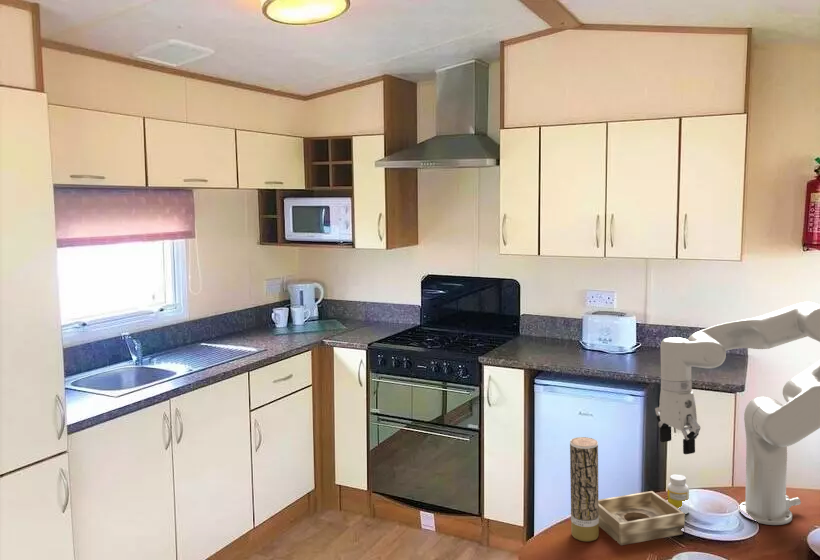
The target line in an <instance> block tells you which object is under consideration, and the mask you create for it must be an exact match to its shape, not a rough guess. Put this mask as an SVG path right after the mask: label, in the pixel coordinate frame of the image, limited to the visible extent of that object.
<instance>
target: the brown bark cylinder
mask: <svg viewBox="0 0 820 560" xmlns="http://www.w3.org/2000/svg"><path fill="white" fill-rule="evenodd" d="M569 449H570V450H569V455H570V456H569V460H570V461H569V463H570V465H569V467H570V521H571V522H570V523H571V525H570V528H571V529H570V530H571V531H570V532H571V535H572V537H573V539H576V540H577V541H580V542H586V543H587V542H593V541H596V540H597V539H598V537H599V535H600V534H599V533H600V531H599V530H600V527H599V502H598V500H599V441H598V440H596V438H592V437H589V436H587V437H586V436H585V437H584V436H579V437H574V438H571V439H569Z"/></svg>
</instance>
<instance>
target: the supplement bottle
mask: <svg viewBox="0 0 820 560" xmlns="http://www.w3.org/2000/svg"><path fill="white" fill-rule="evenodd" d="M669 481H670V482H669V483H668V484H667V502H669V503H670V504H672V505H673V506H675V507H676V508H679V507H681V506H682V501H685V500H688V499H689V500H690V489H689V485H688V484H687V477H686V476H685V475H683V474H675V473H673V474H671V475H670V476H669Z"/></svg>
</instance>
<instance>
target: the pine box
mask: <svg viewBox="0 0 820 560" xmlns="http://www.w3.org/2000/svg"><path fill="white" fill-rule="evenodd" d="M598 502H599V528H600V529H602V530H603V531H604V532H605V533H606V535H609V536H610V537H611V538H612V539H613V540H614V541H615V542H616V541H617V542H616V543H617V544H619V546H625V545H631V544H636V543H641V542H646V541H652V540H658V539H664V538H670V537H674V536H680V535H684V534H683V532H682V531H681V529H682V528H684V529H685V519H686V518H685V516H686V515H685V513H683V512H682V511H681V510H679V509H678V508H676V507H675V506H673V505H672V504H670V503H669V502H668V500H666V499H664V498H663V497H661V496H660V495H659V494H657V493H655V491H653V490H650V491H643V492H638V493H632V494H626V495H625V494H624V495H620V496H613V497H606V498H599V499H598Z"/></svg>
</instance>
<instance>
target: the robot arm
mask: <svg viewBox="0 0 820 560" xmlns="http://www.w3.org/2000/svg"><path fill="white" fill-rule="evenodd" d="M807 337H808V338H810V339H812V340H815V341H817V342H819V343H820V303H819V302H818V303H817V302H813V301H804V302H803V301H802V302H799V303H796V304H792V305H790V306H789V305H788V306H786V307H783V308H781V309H778V310H774V311H771V312H768V313H765V314H763V315H759V316H755V317H751V318H745V319H740V320H736V321H735V320H734V321H730V322H724V323H721V324H717V325H716V324H715V325H713V326H710V327H708V328H704V329H701V330H699V331H696V332H694V333H692V334H691V335H689V336H688V338H683V337H666V338H663V339H662V341H661V342H660V394H659V406H656V407H655V408H654V410H655V415H656V419H657V421H658V427H659V442H661V443H664V442H665V443H666V442H670V441H672V428H674V429H676V430H679V431H681V433H682V435H683V437H684V438H683V439H682V453H683V454H684V455H690V454H691V455H692V454H694V453H696V439H697V437H698V436H699V433H700V430H701V425H700V424H699V423H698V421H697V420H698V419H697V418H698V417H697V406H696V400H695V395H694V392H693V391H692V386H693V385H692V367H695V368H703V369H715V368H718V367H720V366H721V365H723V363H724V362H725V360H726V358H727V353H726V352H727V351H730V350H736V349H752V350H769V349H773V348H776V347H778V346H782V345H785V344H787V343H790V342H791V343H792V342H794V341H797V340H800V339H804V338H807ZM782 396H783V399H784V400H785V402H786V403H784V404H782V403H781V402H780V401H778V400H776V399H774V398H772V397H769V396H758V397H755V398H752V400H749V402H748V403H747V405H746V407H745V410H744V412H743V413H744V414H743V415H744V417H743V421H744V430H745V440H746V441H745V445H746V446H745V447H746V448H745V449H746V450H745V492H744V493H745V501H742V502H741V503H740V504H739V506H740V509H741V510H743V511H745V512H746V513H748V515H750V516H751V517H752V518H753V519H754V520H756V521H757V522H758V524H763V525H769V526H782V525H786V524H787V525H788V524H789V523H791V521H792V520H793V513H792V511H791V510H790V508H792V506H800V505H801V503H802V502H801V498H800V497H798V496H797V497H791V498H790V497H789V496H788V494H787V473H788V472H787V469H788V468H787V466H788V465H787V464H788V463H787V462H788V447H789V446H793V445H795V444H797V443H798V442H800V441H802V440H803V439H805V438H807V437H808V436H810V435H811V434H813V433H814V432H817V430H819V429H820V359H819V360H817V361H816V362H814V364H812V365H810V366H809V367H807V368H806V369H804V370H803V371H801V372H800V373H798V374H796V375H795V376H793V377H792V378H791V379H789V380H788V381H786V383H784V386H783V388H782ZM688 431H689V433H688ZM739 506H738V507H739ZM757 522H756V523H757Z"/></svg>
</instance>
